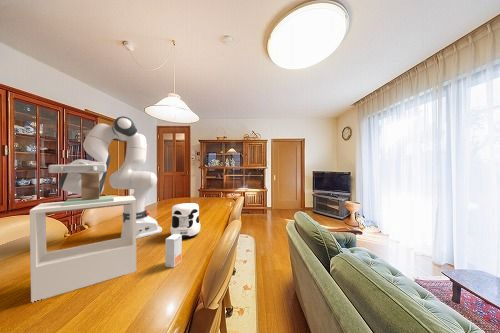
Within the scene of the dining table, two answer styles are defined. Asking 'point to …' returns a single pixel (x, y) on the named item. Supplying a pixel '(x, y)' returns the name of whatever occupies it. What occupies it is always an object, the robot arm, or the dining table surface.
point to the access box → (78, 251)
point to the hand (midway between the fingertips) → (78, 168)
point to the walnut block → (90, 186)
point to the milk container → (185, 220)
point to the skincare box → (173, 250)
